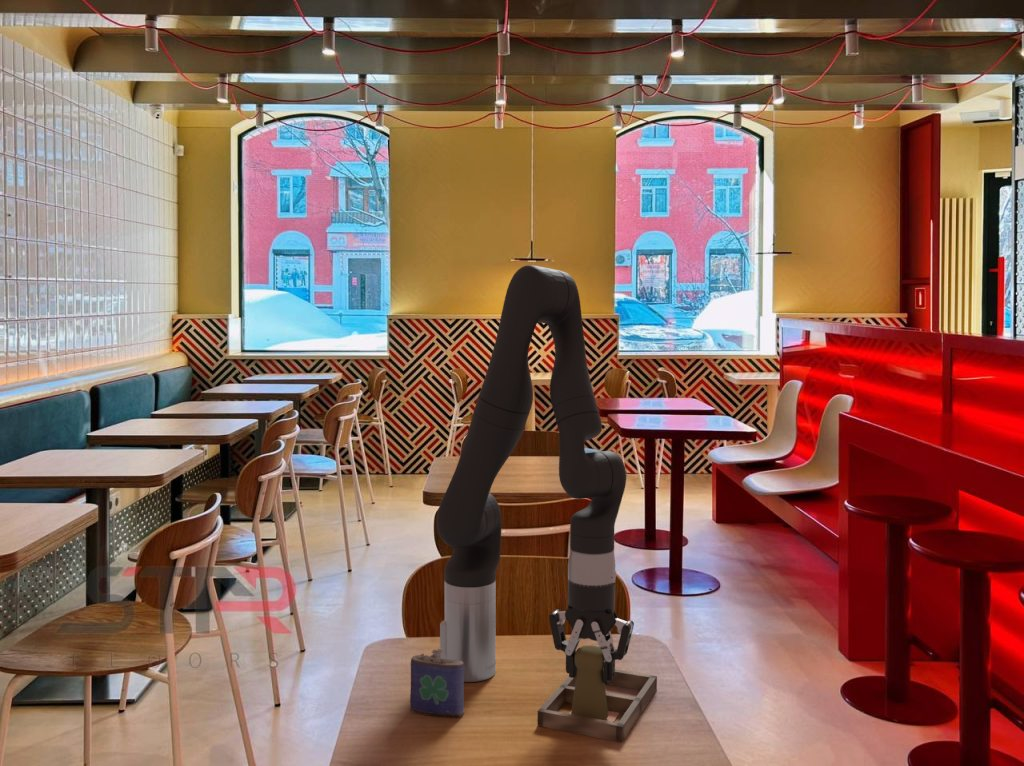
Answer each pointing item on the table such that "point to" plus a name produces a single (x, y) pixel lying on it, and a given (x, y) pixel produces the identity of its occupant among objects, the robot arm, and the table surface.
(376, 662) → the table surface
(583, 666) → the cork
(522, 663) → the table surface
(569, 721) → the caddy
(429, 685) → the flask
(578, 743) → the table surface
